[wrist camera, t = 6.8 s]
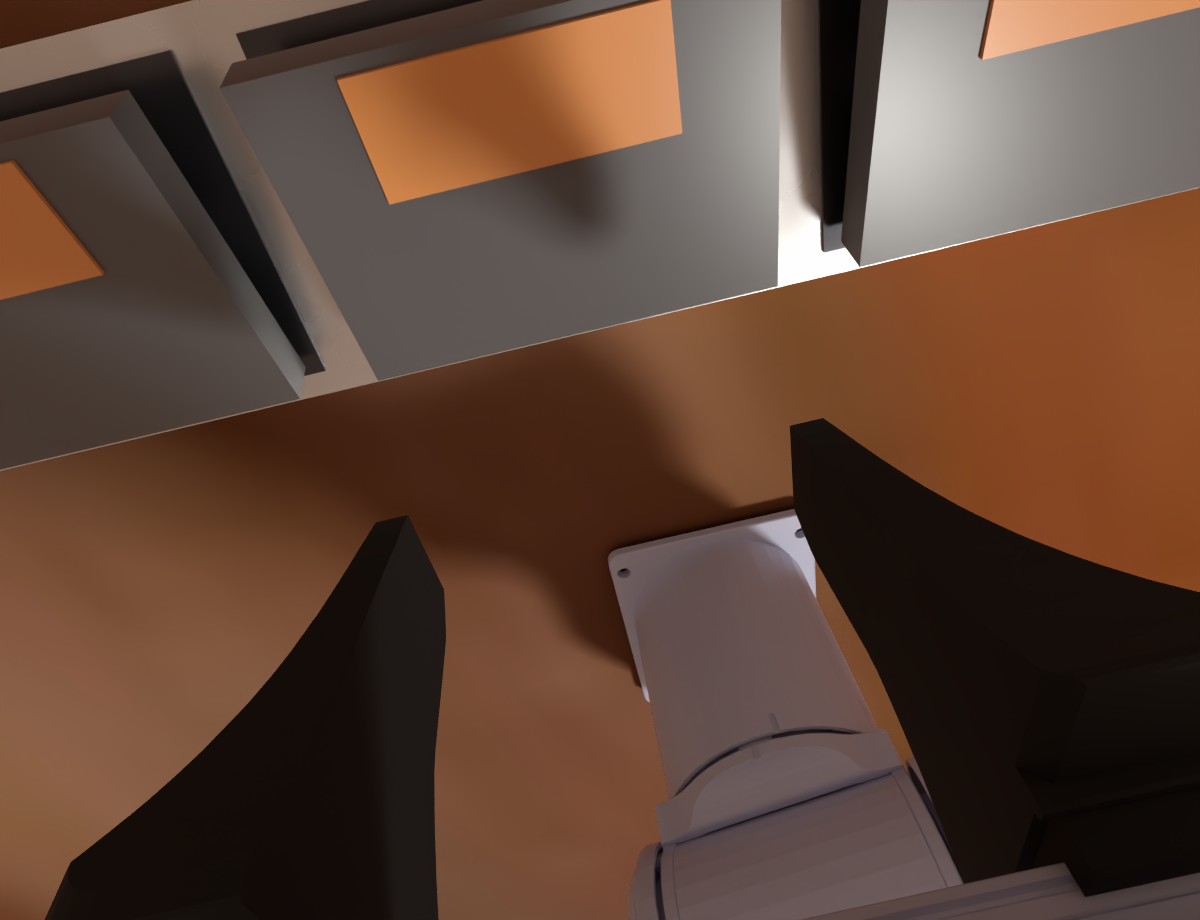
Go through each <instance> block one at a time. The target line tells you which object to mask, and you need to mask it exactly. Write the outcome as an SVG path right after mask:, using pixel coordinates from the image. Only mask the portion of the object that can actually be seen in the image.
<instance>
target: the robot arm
mask: <svg viewBox="0 0 1200 920" xmlns="http://www.w3.org/2000/svg"><path fill="white" fill-rule="evenodd" d="M790 436H791V457H792V477H793V498H794V509H791V510H787V511H782V512H778V513H773V514H769V515H765V516H760V517H756V518H752V519H747V520H743V521H738V522H734V523H730V524H725V525H721V526H716V527H712V528H708V529H703V530H699V531H694V532H690V533H686V534H681V535H677V536H673V537H668V538H664V539H659V540H655V541H651V542H646V543H642V544H637V545H633V546H629V547H624V548H620V549H617V550H614V551H612V552H611V553H610V554H609V556H608V564H609V569H610V572H611V576H612V580H613V583H614V587H615V591H616V594H617V598H618V602H619V605H620V609H621V613H622V616H623V620H624V624H625V627H626V631H627V635H628V638H629V642H630V646H631V649H632V653H633V657H634V660H635V664H636V668H637V671H638V675H639V679H640V682H641V686H642V690H643V693H644V697H645V699H646V700H647V701H649V702H650V705H651V710H652V715H653V720H654V726H655V731H656V736H657V741H658V746H659V751H660V756H661V761H662V766H663V771H664V776H665V781H666V786H667V792H668V797H669V800H668V801H666V802H663V803H661V804H658V805H657V806H656V807H655V811H656V817H657V822H658V828H659V834H660V840H661V841H660V842H657V843H654V844H650V845H647V846H646V847H644V849H643V850H642V851H641V853H640V855H639V858H638V861H637V866H636V869H635V872H634V874H633V876H632V879H631V883H630V888H629V899H628V911H629V920H1200V592H1196V591H1192V590H1188V589H1184V588H1180V587H1176V586H1172V585H1168V584H1164V583H1160V582H1156V581H1152V580H1149V579H1145V578H1142V577H1138V576H1135V575H1132V574H1129V573H1125V572H1122V571H1119V570H1116V569H1112V568H1109V567H1106V566H1102V565H1099V564H1097V563H1094V562H1091V561H1088V560H1085V559H1082V558H1079V557H1076V556H1073V555H1070V554H1068V553H1065V552H1063V551H1060V550H1057V549H1055V548H1052V547H1049V546H1047V545H1044V544H1042V543H1039V542H1036V541H1034V540H1031V539H1029V538H1027V537H1024V536H1022V535H1019V534H1017V533H1015V532H1012V531H1010V530H1008V529H1006V528H1004V527H1002V526H999V525H997V524H995V523H993V522H991V521H989V520H987V519H984V518H982V517H980V516H978V515H976V514H974V513H972V512H970V511H968V510H966V509H964V508H962V507H960V506H958V505H956V504H955V503H953V502H951V501H949V500H947V499H946V498H944V497H942V496H940V495H939V494H937V493H935V492H933V491H931V490H930V489H928V488H926V487H924V486H923V485H921V484H920V483H918V482H916V481H915V480H913V479H912V478H910V477H908V476H907V475H905V474H904V473H902V472H901V471H899V470H898V469H896V468H894V467H893V466H891V465H890V464H888V463H887V462H885V461H884V460H882V459H881V458H879V457H878V456H876V455H875V454H873V453H872V452H871V451H869V450H868V449H866V448H865V447H863V446H862V445H860V444H859V443H858V442H856V441H855V440H853V439H852V438H851V437H849V436H848V435H846V434H845V433H844V432H842V431H841V430H839V429H838V428H836V427H835V426H834V425H832V424H831V423H829V422H828V421H826V420H825V419H823V418H822V419H817V420H813V421H809V422H804V423H800V424H796V425H792V426H790ZM800 528H802V530H801V531H798V532H796V531H797V530H798V529H800ZM815 560H816V562H817V564H818V565H819V567H820V569H821V571H822V572H823V574H824V576H825V578H826V580H827V581H828V583H829V585H830V587H831V589H832V590H833V592H834V594H835V596H836V597H837V599H838V601H839V603H840V604H841V606H842V608H843V610H844V611H845V613H846V615H847V617H848V618H849V620H850V622H851V624H852V625H853V627H854V629H855V631H856V632H857V634H858V636H859V638H860V639H861V641H862V643H863V645H864V646H865V648H866V650H867V652H868V654H869V656H870V658H871V660H872V662H873V664H874V666H875V668H876V669H877V671H878V674H879V676H880V678H881V680H882V683H883V685H884V687H885V690H886V692H887V694H888V696H889V699H890V701H891V703H892V706H893V708H894V710H895V712H896V715H897V717H898V719H899V722H900V724H901V726H902V729H903V731H904V734H905V736H906V738H907V741H908V743H909V746H910V748H911V750H912V753H913V755H914V757H912V758H910V759H907V760H906V765H907V770H908V772H909V775H910V776H909V775H908V773H907V772H906V770H905V768H904V765H903V763H902V761H901V759H900V757H899V755H898V753H897V751H896V749H895V747H894V745H893V743H892V741H891V739H890V736H889V734H888V732H887V730H886V729H878V727H877V725H876V723H875V721H874V719H873V717H872V715H871V712H870V710H869V708H868V706H867V704H866V702H865V700H864V698H863V696H862V694H861V692H860V690H859V687H858V685H857V683H856V681H855V679H854V677H853V675H852V673H851V671H850V669H849V667H848V665H847V662H846V660H845V658H844V656H843V654H842V652H841V650H840V648H839V646H838V644H837V642H836V639H835V637H834V635H833V633H832V631H831V629H830V627H829V625H828V623H827V621H826V619H825V617H824V614H823V612H822V610H821V608H820V606H819V604H818V602H817V600H816V580H815ZM624 568H627V570H625V571H619V570H621V569H624ZM445 643H446V624H445V601H444V589H443V587H442V585H441V583H440V581H439V578H438V576H437V574H436V572H435V570H434V568H433V566H432V564H431V562H430V560H429V558H428V556H427V554H426V552H425V550H424V548H423V546H422V544H421V541H420V539H419V537H418V535H417V533H416V531H415V529H414V527H413V525H412V523H411V521H410V519H409V517H408V515H407V516H402V517H398V518H394V519H389V520H385V521H381V522H377V523H375V525H374V527H373V528H372V530H371V531H370V533H369V534H368V536H367V538H366V539H365V541H364V542H363V544H362V545H361V547H360V549H359V550H358V552H357V553H356V555H355V557H354V558H353V560H352V562H351V563H350V565H349V566H348V568H347V570H346V571H345V573H344V574H343V576H342V578H341V579H340V581H339V582H338V584H337V586H336V587H335V589H334V590H333V592H332V593H331V595H330V596H329V598H328V599H327V601H326V602H325V604H324V606H323V607H322V609H321V610H320V612H319V613H318V614H317V616H316V617H315V619H314V620H313V621H312V623H311V624H310V626H309V627H308V628H307V630H306V631H305V633H304V634H303V635H302V637H301V638H300V640H299V641H298V642H297V644H296V645H295V647H294V648H293V649H292V651H291V652H290V653H289V655H288V656H287V657H286V659H285V660H284V661H283V662H282V664H281V665H280V666H279V667H278V669H277V670H276V671H275V672H274V674H273V675H272V676H271V677H270V678H269V680H268V681H267V682H266V683H265V684H264V685H263V687H262V688H261V689H260V690H259V691H258V692H257V694H256V695H255V696H254V697H253V698H252V699H251V701H250V702H249V703H248V704H247V705H246V706H245V707H244V708H243V709H242V710H241V711H240V713H239V714H238V715H237V716H236V717H235V718H234V719H233V720H232V721H231V722H230V723H229V724H228V725H227V726H226V727H225V728H224V729H223V730H222V731H221V732H220V733H219V734H218V735H217V736H216V737H215V738H214V739H213V740H212V741H211V742H210V743H209V745H208V746H207V747H206V748H205V749H204V750H203V751H202V752H201V753H200V754H199V755H197V756H196V757H195V758H194V759H193V760H192V761H191V762H190V763H189V764H188V765H187V766H186V767H185V768H184V769H183V770H181V771H180V772H179V773H178V774H177V775H176V776H175V777H174V778H173V779H172V780H170V781H169V782H168V783H167V784H166V785H165V786H164V787H163V788H161V789H160V790H159V791H158V792H157V793H156V794H155V795H154V796H152V797H151V798H150V799H149V800H148V801H147V802H145V803H144V804H143V805H142V806H141V807H140V808H138V809H137V810H136V811H135V812H134V813H132V814H131V815H130V816H129V817H127V818H126V819H125V820H124V821H122V822H121V823H120V824H119V825H117V826H116V827H115V828H114V829H112V830H111V831H110V832H109V833H107V834H106V835H105V836H104V837H102V838H101V839H100V840H99V841H97V842H96V843H95V844H94V845H92V846H91V847H90V848H89V849H87V850H86V851H85V852H83V853H82V854H81V855H79V856H78V857H77V858H76V859H74V860H73V861H72V862H71V863H70V865H69V867H68V869H67V871H66V873H65V876H64V878H63V880H62V882H61V884H60V887H59V889H58V891H57V893H56V896H55V898H54V900H53V902H52V905H51V907H50V909H49V911H48V914H47V916H46V918H45V920H438V903H437V884H436V855H435V813H434V766H435V748H436V737H437V727H438V717H439V707H440V697H441V687H442V677H443V666H444V655H445Z"/></svg>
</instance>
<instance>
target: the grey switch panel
mask: <svg viewBox="0 0 1200 920" xmlns="http://www.w3.org/2000/svg"><path fill="white" fill-rule="evenodd" d="M479 1H483V0H192V1H188V2H184V3H180V4H176V5H172V6H168V7H164V8H160V9H156V10H152V11H148V12H144V13H140V14H136V15H132V16H128V17H124V18H120V19H116V20H113V21H109V22H105V23H101V24H97V25H93V26H89V27H85V28H81V29H77V30H73V31H69V32H65V33H61V34H57V35H53V36H49V37H45V38H41V39H37V40H33V41H29V42H25V43H22V44H18V45H14V46H10V47H6V48H2V49H0V122H1V121H5V120H9V119H13V118H17V117H21V116H25V115H29V114H33V113H37V112H41V111H45V110H49V109H53V108H57V107H61V106H65V105H69V104H73V103H77V102H81V101H85V100H89V99H93V98H97V97H101V96H105V95H109V94H113V93H117V92H121V91H125V90H129V91H130V93H131V94H132V96H133V98H134V99H135V101H136V102H137V104H138V105H139V107H140V109H141V110H142V112H143V113H144V115H145V116H146V118H147V120H148V121H149V123H150V124H151V126H152V127H153V129H154V130H155V132H156V134H157V135H158V137H159V138H160V140H161V141H162V143H163V145H164V146H165V148H166V149H167V151H168V152H169V154H170V156H171V157H172V159H173V160H174V162H175V163H176V165H177V166H178V168H179V170H180V171H181V173H182V174H183V176H184V177H185V179H186V181H187V182H188V184H189V185H190V187H191V188H192V190H193V192H194V193H195V195H196V196H197V198H198V199H199V201H200V203H201V204H202V206H203V207H204V209H205V210H206V212H207V213H208V215H209V217H210V218H211V220H212V221H213V223H214V224H215V226H216V228H217V229H218V231H219V232H220V234H221V235H222V237H223V239H224V240H225V242H226V243H227V245H228V246H229V248H230V250H231V251H232V253H233V254H234V256H235V257H236V259H237V260H238V262H239V264H240V265H241V267H242V268H243V270H244V271H245V273H246V275H247V276H248V278H249V279H250V281H251V282H252V284H253V286H254V287H255V289H256V290H257V292H258V293H259V295H260V296H261V298H262V300H263V301H264V303H265V304H266V306H267V307H268V309H269V311H270V312H271V314H272V315H273V317H274V318H275V320H276V322H277V323H278V325H279V326H280V328H281V329H282V331H283V333H284V334H285V336H286V337H287V339H288V340H289V342H290V343H291V345H292V347H293V348H294V350H295V351H296V353H297V354H298V356H299V358H300V359H301V361H302V362H303V364H304V365H305V367H306V368H305V374H304V380H303V385H302V391H301V396H300V399H297V400H293V401H289V402H285V403H281V404H276V405H272V406H268V407H264V408H259V409H255V410H251V411H247V412H242V413H238V414H234V415H230V416H226V417H221V418H217V419H213V420H209V421H204V422H200V423H196V424H192V425H187V426H183V427H179V428H175V429H171V430H166V431H162V432H158V433H154V434H149V435H145V436H141V437H137V438H132V439H128V440H124V441H120V442H115V443H111V444H107V445H103V446H99V447H94V448H90V449H86V450H82V451H77V452H73V453H69V454H65V455H60V456H56V457H52V458H48V459H44V460H39V461H35V462H31V463H27V464H22V465H18V466H14V467H10V468H5V469H1V470H0V471H3V470H7V469H11V468H15V467H19V466H24V465H28V464H32V463H36V462H41V461H45V460H49V459H53V458H58V457H62V456H66V455H70V454H74V453H79V452H83V451H87V450H91V449H96V448H100V447H104V446H108V445H113V444H117V443H121V442H125V441H129V440H134V439H138V438H142V437H146V436H151V435H155V434H159V433H163V432H168V431H172V430H176V429H180V428H185V427H189V426H193V425H197V424H201V423H206V422H210V421H214V420H218V419H223V418H227V417H231V416H235V415H240V414H244V413H248V412H252V411H256V410H261V409H265V408H269V407H273V406H278V405H282V404H286V403H290V402H295V401H299V400H303V399H307V398H311V397H316V396H320V395H324V394H328V393H333V392H337V391H341V390H345V389H350V388H354V387H358V386H362V385H367V384H371V383H375V382H379V381H378V380H377V378H376V376H375V374H374V372H373V370H372V369H371V367H370V365H369V363H368V361H367V359H366V358H365V356H364V354H363V352H362V350H361V348H360V346H359V345H358V343H357V341H356V339H355V337H354V335H353V334H352V332H351V330H350V328H349V326H348V324H347V323H346V321H345V319H344V317H343V315H342V313H341V311H340V310H339V308H338V306H337V304H336V302H335V300H334V299H333V297H332V295H331V293H330V291H329V289H328V288H327V286H326V284H325V282H324V280H323V278H322V277H321V275H320V273H319V271H318V269H317V267H316V265H315V264H314V262H313V260H312V258H311V256H310V254H309V253H308V251H307V249H306V247H305V245H304V243H303V242H302V240H301V238H300V236H299V234H298V232H297V230H296V229H295V227H294V225H293V223H292V221H291V219H290V218H289V216H288V214H287V212H286V210H285V208H284V207H283V205H282V203H281V201H280V199H279V197H278V195H277V194H276V192H275V190H274V188H273V186H272V184H271V183H270V181H269V179H268V177H267V175H266V173H265V172H264V170H263V168H262V166H261V164H260V162H259V160H258V159H257V157H256V155H255V153H254V151H253V149H252V148H251V146H250V144H249V142H248V140H247V138H246V137H245V135H244V133H243V131H242V129H241V127H240V126H239V124H238V122H237V120H236V118H235V116H234V114H233V113H232V111H231V109H230V107H229V105H228V103H227V102H226V100H225V98H224V96H223V94H222V92H221V91H220V89H219V88H220V86H221V84H222V82H223V80H224V78H225V76H226V74H227V72H228V70H229V68H230V66H231V64H232V63H235V62H239V61H243V60H247V59H251V58H255V57H259V56H263V55H267V54H271V53H275V52H279V51H283V50H287V49H291V48H295V47H299V46H303V45H307V44H311V43H315V42H319V41H323V40H327V39H331V38H335V37H339V36H343V35H347V34H351V33H355V32H359V31H363V30H367V29H371V28H375V27H379V26H383V25H387V24H391V23H395V22H399V21H403V20H407V19H411V18H415V17H419V16H423V15H427V14H431V13H435V12H439V11H443V10H447V9H451V8H455V7H459V6H463V5H467V4H471V3H475V2H479ZM860 6H861V0H781V69H780V151H779V233H778V287H781V286H786V285H790V284H794V283H798V282H802V281H807V280H811V279H815V278H819V277H824V276H828V275H832V274H836V273H841V272H845V271H849V270H853V269H857V268H862V267H859V266H858V264H857V263H856V262H855V260H854V259H853V257H852V256H851V255H850V253H849V252H848V250H847V249H846V248H845V246H844V245H843V243H842V242H841V236H842V224H843V212H844V200H845V188H846V176H847V164H848V152H849V140H850V127H851V115H852V103H853V91H854V79H855V67H856V55H857V43H858V31H859V19H860ZM1198 188H1200V187H1198ZM1194 189H1196V188H1194ZM1189 190H1192V189H1189ZM1185 191H1188V190H1185ZM1181 192H1183V191H1181ZM1177 193H1179V192H1177ZM1172 194H1175V193H1172ZM1168 195H1171V194H1168ZM1164 196H1166V195H1164ZM1160 197H1162V196H1160ZM1155 198H1158V197H1155ZM1151 199H1154V198H1151ZM1147 200H1150V199H1147ZM1143 201H1145V200H1143ZM1139 202H1141V201H1139ZM1134 203H1137V202H1134ZM1130 204H1133V203H1130ZM1126 205H1128V204H1126ZM1122 206H1124V205H1122ZM1117 207H1120V206H1117ZM1113 208H1116V207H1113ZM1109 209H1111V208H1109ZM1105 210H1107V209H1105ZM1100 211H1103V210H1100ZM1096 212H1099V211H1096ZM1092 213H1094V212H1092ZM1088 214H1090V213H1088ZM1084 215H1086V214H1084ZM1079 216H1082V215H1079ZM1075 217H1078V216H1075ZM1071 218H1073V217H1071ZM1067 219H1069V218H1067ZM1062 220H1065V219H1062ZM1058 221H1061V220H1058ZM1054 222H1056V221H1054ZM1050 223H1052V222H1050ZM1045 224H1048V223H1045ZM1041 225H1044V224H1041ZM1037 226H1039V225H1037ZM1033 227H1035V226H1033ZM1029 228H1031V227H1029ZM1024 229H1027V228H1024ZM1020 230H1023V229H1020ZM1016 231H1018V230H1016ZM1012 232H1014V231H1012ZM1007 233H1010V232H1007ZM1003 234H1006V233H1003ZM999 235H1001V234H999ZM995 236H997V235H995ZM990 237H993V236H990ZM986 238H989V237H986ZM982 239H984V238H982ZM978 240H980V239H978ZM974 241H976V240H974ZM969 242H972V241H969ZM965 243H968V242H965ZM961 244H963V243H961ZM957 245H959V244H957ZM952 246H955V245H952ZM948 247H951V246H948ZM944 248H946V247H944ZM940 249H942V248H940ZM935 250H938V249H935ZM931 251H934V250H931ZM927 252H929V251H927ZM923 253H925V252H923ZM918 254H921V253H918ZM914 255H917V254H914ZM910 256H912V255H910ZM906 257H908V256H906ZM902 258H904V257H902ZM897 259H900V258H897ZM893 260H896V259H893ZM889 261H891V260H889ZM885 262H887V261H885ZM880 263H883V262H880ZM876 264H879V263H876ZM872 265H874V264H872ZM868 266H870V265H868ZM863 267H866V266H863ZM773 288H777V287H773ZM773 288H769V289H773ZM769 289H765V290H769ZM761 291H764V290H761ZM756 292H760V291H756ZM756 292H752V293H756ZM752 293H748V294H752ZM744 295H747V294H744ZM740 296H743V295H740ZM735 297H739V296H735ZM735 297H731V298H735ZM731 298H727V299H731ZM723 300H726V299H723ZM718 301H722V300H718ZM718 301H714V302H718ZM714 302H710V303H714ZM706 304H709V303H706ZM701 305H705V304H701ZM701 305H697V306H701ZM697 306H693V307H697ZM689 308H692V307H689ZM684 309H688V308H684ZM684 309H680V310H684ZM680 310H676V311H680ZM672 312H675V311H672ZM668 313H671V312H668ZM663 314H667V313H663ZM663 314H659V315H663ZM659 315H655V316H659ZM651 317H654V316H651ZM646 318H650V317H646ZM646 318H642V319H646ZM642 319H638V320H642ZM634 321H637V320H634ZM629 322H633V321H629ZM629 322H625V323H629ZM625 323H621V324H625ZM617 325H620V324H617ZM613 326H616V325H613ZM608 327H612V326H608ZM608 327H604V328H608ZM604 328H600V329H604ZM596 330H599V329H596ZM591 331H595V330H591ZM591 331H587V332H591ZM587 332H583V333H587ZM579 334H582V333H579ZM574 335H578V334H574ZM574 335H570V336H574ZM570 336H566V337H570ZM562 338H565V337H562ZM558 339H561V338H558ZM553 340H557V339H553ZM553 340H549V341H553ZM549 341H545V342H549ZM541 343H544V342H541ZM536 344H540V343H536ZM536 344H532V345H536ZM532 345H528V346H532ZM524 347H527V346H524ZM519 348H523V347H519ZM519 348H515V349H519ZM515 349H511V350H515ZM507 351H510V350H507ZM503 352H506V351H503ZM498 353H502V352H498ZM498 353H494V354H498ZM490 355H493V354H490ZM486 356H489V355H486ZM481 357H485V356H481ZM481 357H477V358H481ZM477 358H473V359H477ZM469 360H472V359H469ZM464 361H468V360H464ZM464 361H460V362H464ZM460 362H456V363H460ZM452 364H455V363H452ZM448 365H451V364H448ZM443 366H447V365H443ZM443 366H439V367H443ZM435 368H438V367H435ZM431 369H434V368H431ZM426 370H430V369H426ZM426 370H422V371H426ZM422 371H418V372H422ZM414 373H417V372H414ZM409 374H413V373H409ZM409 374H405V375H409ZM405 375H401V376H405ZM397 377H400V376H397ZM393 378H396V377H393ZM388 379H392V378H388ZM388 379H384V380H388ZM380 381H383V380H380Z"/></svg>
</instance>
